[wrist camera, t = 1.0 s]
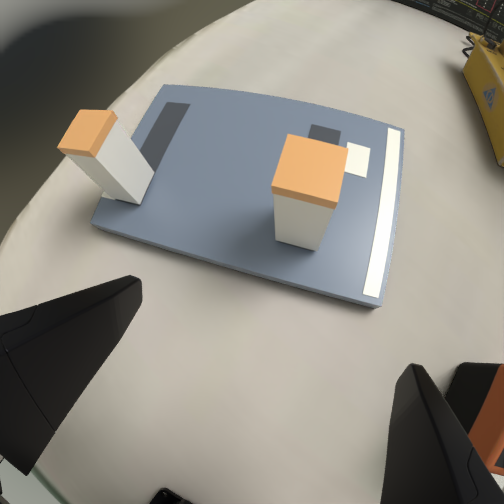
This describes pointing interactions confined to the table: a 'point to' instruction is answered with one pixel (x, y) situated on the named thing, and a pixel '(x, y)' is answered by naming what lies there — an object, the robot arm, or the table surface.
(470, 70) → the geiger counter
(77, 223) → the table surface
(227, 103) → the switch bank
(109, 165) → the tab
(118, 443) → the table surface
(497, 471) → the battery
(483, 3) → the router box
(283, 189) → the tab
